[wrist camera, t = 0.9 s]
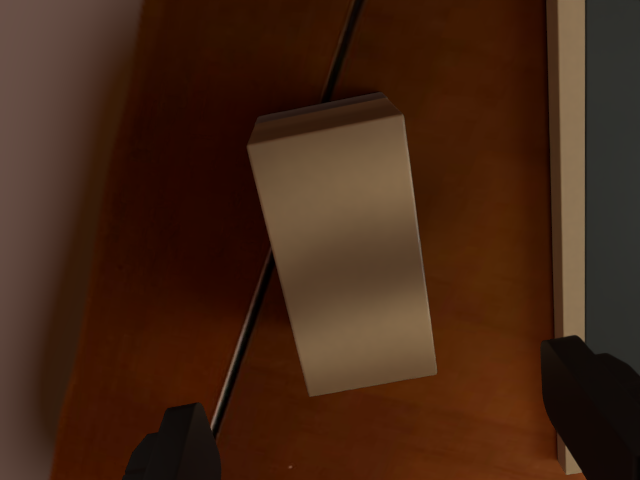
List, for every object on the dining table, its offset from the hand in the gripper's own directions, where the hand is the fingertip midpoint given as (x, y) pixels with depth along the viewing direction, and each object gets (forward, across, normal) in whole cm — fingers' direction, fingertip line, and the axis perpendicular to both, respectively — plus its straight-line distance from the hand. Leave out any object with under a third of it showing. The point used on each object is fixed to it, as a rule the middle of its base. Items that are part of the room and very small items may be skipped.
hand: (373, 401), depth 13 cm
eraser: (+12, 0, 0) cm, 12 cm away
